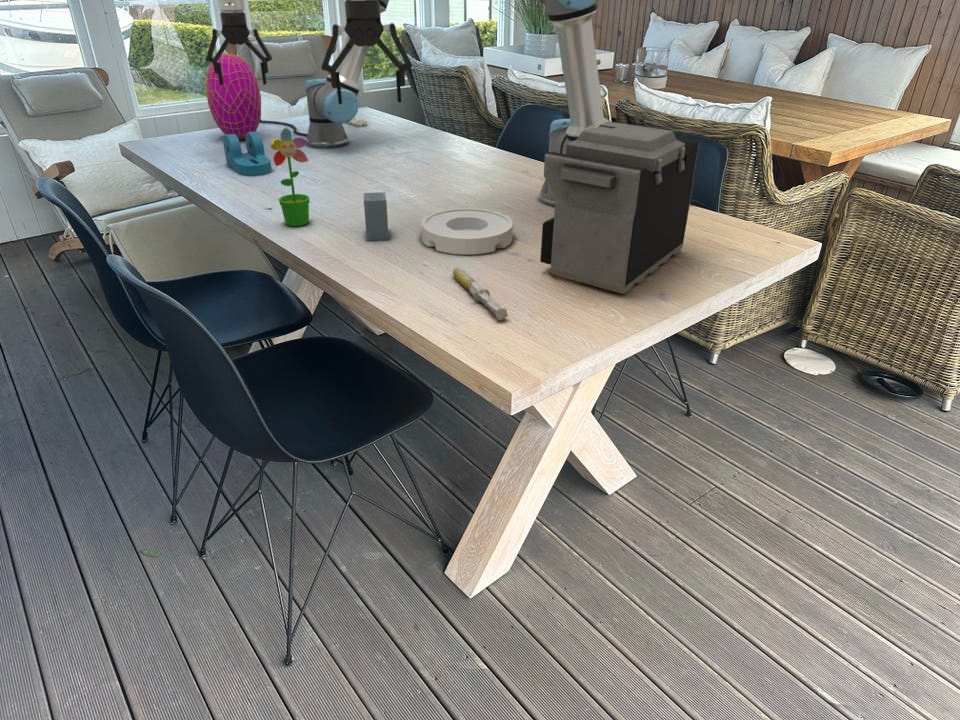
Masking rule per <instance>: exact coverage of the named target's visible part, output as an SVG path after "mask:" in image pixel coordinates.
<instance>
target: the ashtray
mask: <svg viewBox="0 0 960 720" xmlns="http://www.w3.org/2000/svg"><path fill="white" fill-rule="evenodd" d="M420 223H421V226H420V227H421V242H423V244H424V245H425V246H426V247H429V248H430V247H431V248H435V251H438V252H442V253H446V254H452V255H463V256H465V255H483V254H490V253H494V252H496V249H505V248H507V247H508V246H509V245H511V243H512V241H513V237H514V223H513V220H512V219H511V218H510V217H509V216H508V215H506V214H503V213H502V212H499V211H495V210H492V209H484V208H477V207H476V208H475V207H456V208H448V209H443V210H438V211H435V212H432V213H430V214H427V215H426V216H424V217H423V218H422V220H421V221H420Z"/></svg>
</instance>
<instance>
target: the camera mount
mask: <svg viewBox="0 0 960 720" xmlns="http://www.w3.org/2000/svg"><path fill="white" fill-rule="evenodd" d="M222 140H223V141H222V143H223V149H224V150H223V151H224V156H225V161H226V165H227V166H228V167H230V168H231V169H232V170H234V171H236V172H237V173H238V174H239V175H244V176H260V175H265V174H268V173H271V172H272V164H271V159H270V158H268V157H267V156H266V153H265V145H264V141H263V139H262V136H261V134H260V132H258V131H257V130H256V131H255V132H247V133H246V137H245V139H244V140H245V146H246V152H243V151H242V150H243V149H242V146H241V142H240V139H238V138H237V136H236V135H235V134H230V135H225V134H224V135H223V138H222Z"/></svg>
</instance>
